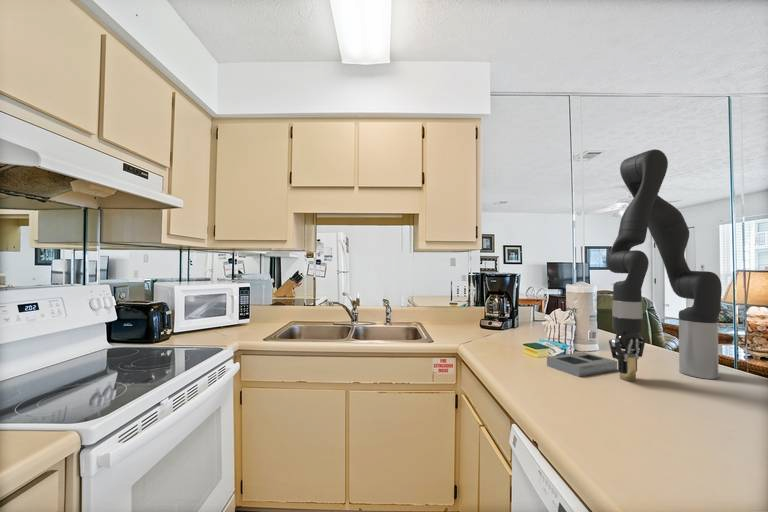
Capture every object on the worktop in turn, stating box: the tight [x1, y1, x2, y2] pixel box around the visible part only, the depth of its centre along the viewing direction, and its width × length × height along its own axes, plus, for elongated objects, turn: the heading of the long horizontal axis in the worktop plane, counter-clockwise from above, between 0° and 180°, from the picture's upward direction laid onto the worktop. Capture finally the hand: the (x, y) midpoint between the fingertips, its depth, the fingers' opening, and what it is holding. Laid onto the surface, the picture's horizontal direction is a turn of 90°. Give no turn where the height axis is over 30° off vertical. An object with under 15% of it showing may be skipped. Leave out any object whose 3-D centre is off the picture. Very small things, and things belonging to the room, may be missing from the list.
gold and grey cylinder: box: [619, 352, 637, 383], centre depth 102 cm, size 4×4×8 cm
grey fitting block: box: [546, 351, 618, 377], centre depth 113 cm, size 18×12×3 cm, turn 112°
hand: (627, 371), depth 102 cm, fingers closed on gold and grey cylinder, 4 cm apart
